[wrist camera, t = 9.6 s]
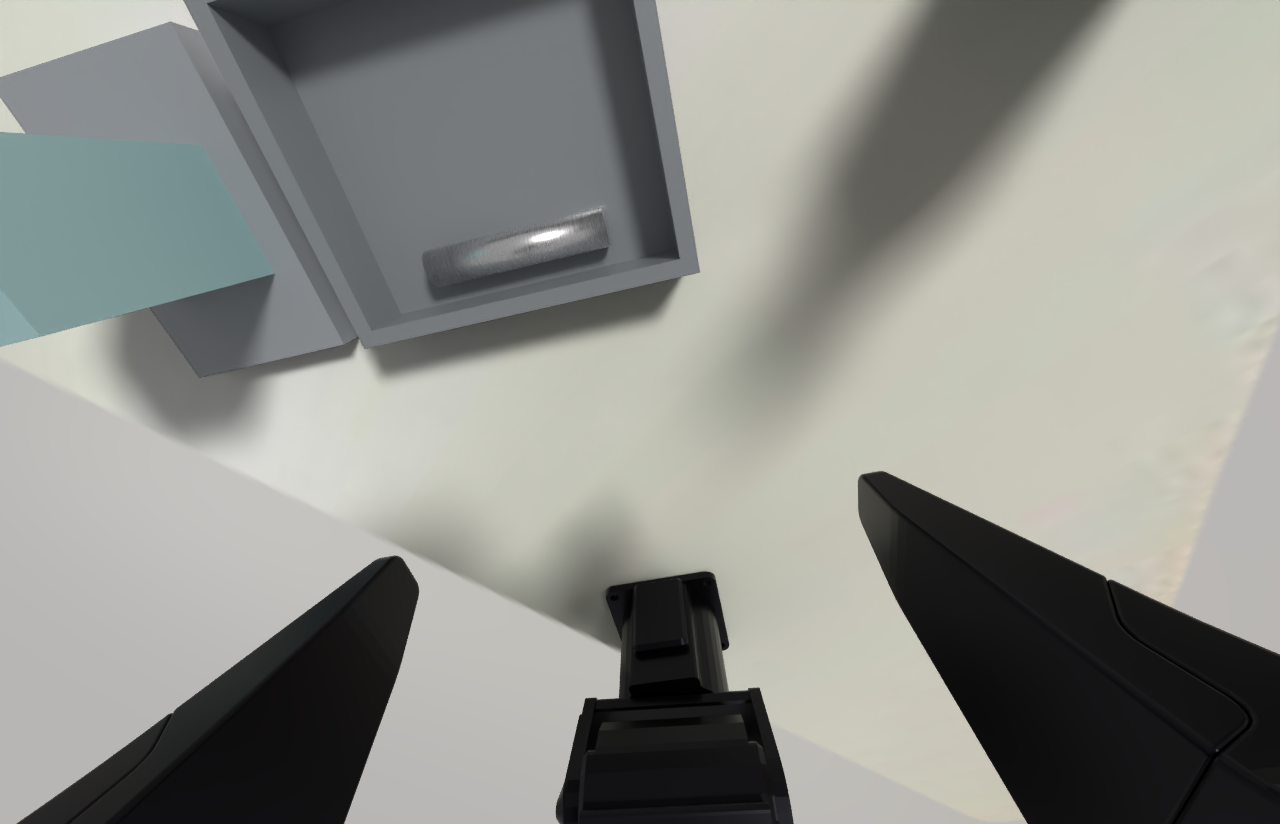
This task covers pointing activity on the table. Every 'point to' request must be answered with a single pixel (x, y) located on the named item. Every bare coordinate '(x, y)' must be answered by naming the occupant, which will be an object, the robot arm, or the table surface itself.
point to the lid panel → (209, 116)
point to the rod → (517, 248)
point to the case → (460, 143)
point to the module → (111, 231)
